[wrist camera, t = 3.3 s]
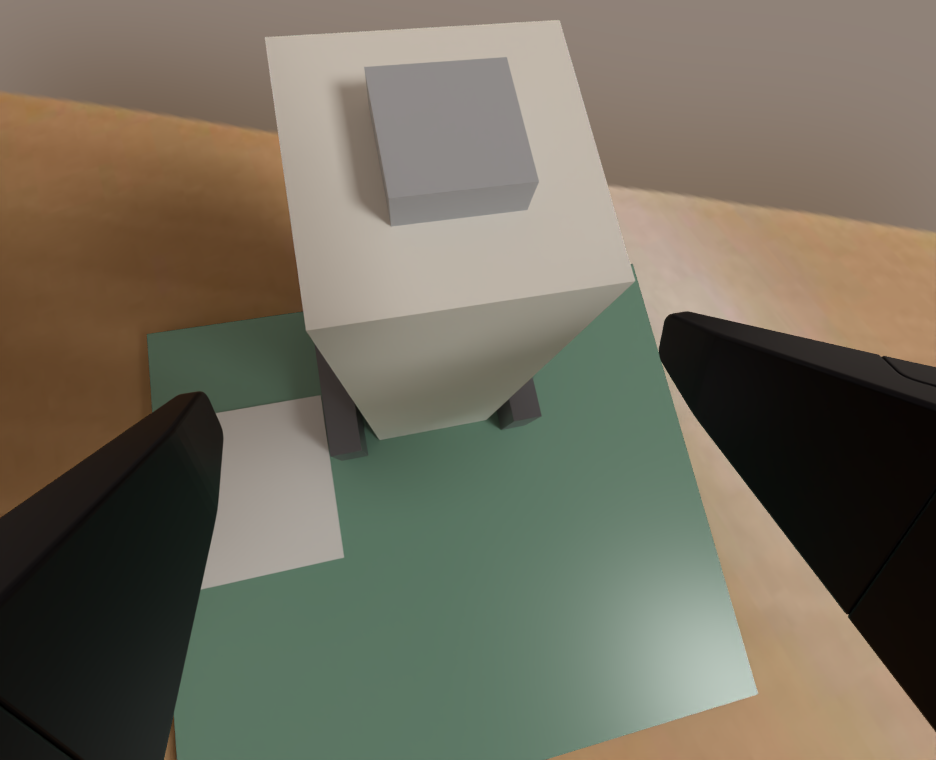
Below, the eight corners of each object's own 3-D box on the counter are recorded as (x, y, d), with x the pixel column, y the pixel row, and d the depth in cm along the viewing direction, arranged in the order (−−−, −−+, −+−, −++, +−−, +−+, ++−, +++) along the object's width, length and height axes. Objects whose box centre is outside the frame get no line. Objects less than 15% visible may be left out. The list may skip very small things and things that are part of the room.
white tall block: (485, 420, 19) (657, 259, 6) (379, 440, 18) (294, 312, 5) (465, 320, 20) (572, -22, 6) (362, 336, 19) (250, -8, 6)
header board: (740, 683, 19) (812, 726, 15) (198, 846, 16) (139, 946, 12) (622, 273, 22) (661, 234, 19) (160, 341, 19) (105, 310, 16)
